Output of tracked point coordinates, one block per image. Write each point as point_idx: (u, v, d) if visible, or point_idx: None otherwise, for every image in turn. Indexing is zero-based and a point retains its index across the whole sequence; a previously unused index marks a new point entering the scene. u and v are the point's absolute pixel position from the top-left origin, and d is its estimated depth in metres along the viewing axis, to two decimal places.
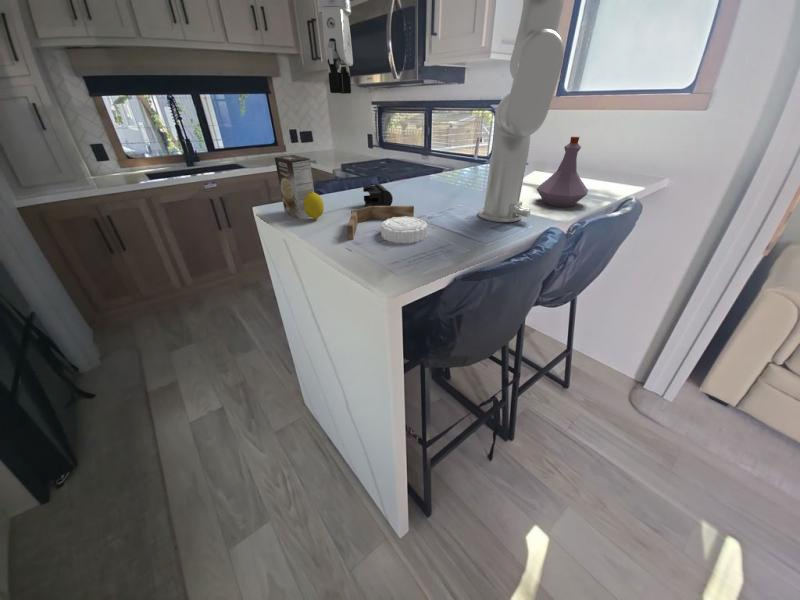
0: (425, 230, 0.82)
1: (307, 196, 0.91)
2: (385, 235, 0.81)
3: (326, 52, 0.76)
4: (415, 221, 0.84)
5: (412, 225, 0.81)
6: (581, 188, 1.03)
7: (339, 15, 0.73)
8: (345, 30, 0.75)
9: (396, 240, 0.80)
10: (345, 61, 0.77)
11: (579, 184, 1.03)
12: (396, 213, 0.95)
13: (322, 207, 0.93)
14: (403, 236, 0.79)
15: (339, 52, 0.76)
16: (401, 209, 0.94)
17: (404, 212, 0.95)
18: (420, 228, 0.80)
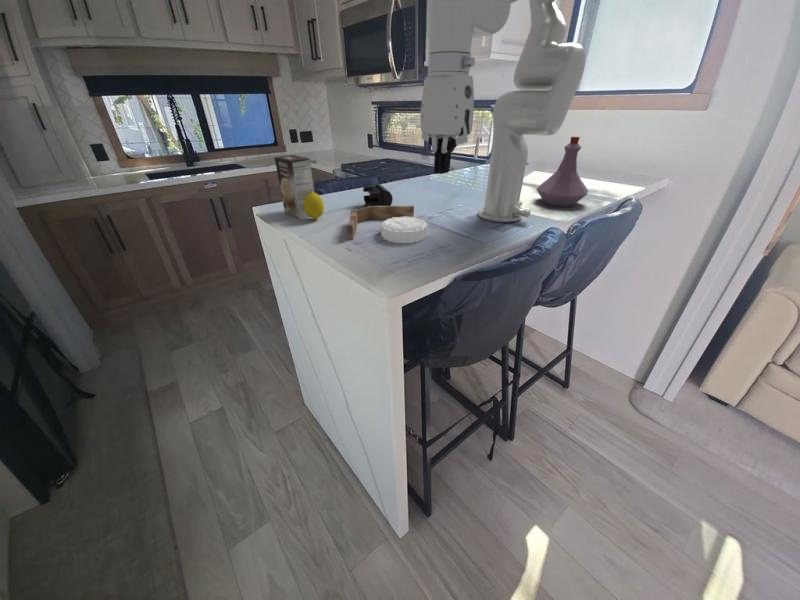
0: (425, 230, 0.82)
1: (307, 196, 0.91)
2: (385, 235, 0.81)
3: (460, 125, 0.61)
4: (415, 221, 0.84)
5: (412, 225, 0.81)
6: (581, 188, 1.03)
7: None
8: None
9: (396, 240, 0.80)
10: None
11: (579, 184, 1.03)
12: (396, 213, 0.95)
13: (322, 207, 0.93)
14: (403, 236, 0.79)
15: None
16: (401, 209, 0.94)
17: (404, 212, 0.95)
18: (420, 228, 0.80)
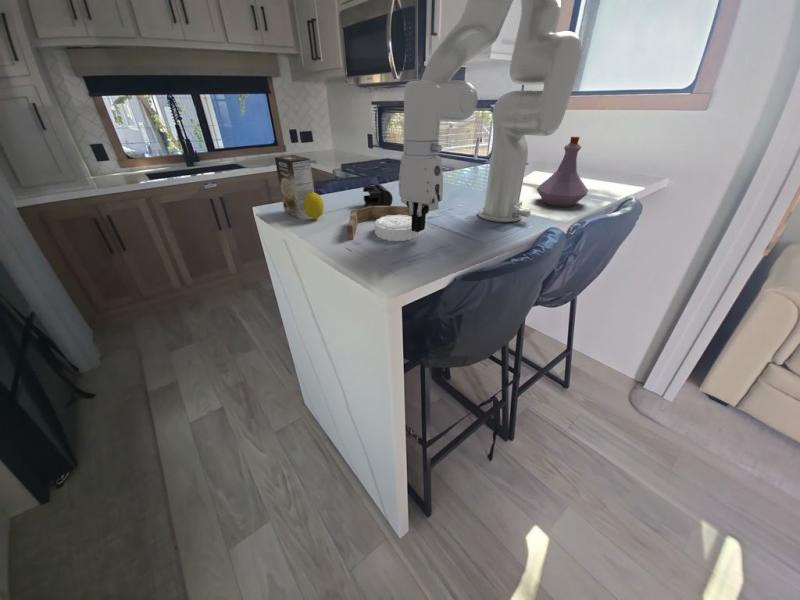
0: None
1: (307, 196, 0.91)
2: (379, 233, 0.83)
3: (431, 197, 0.72)
4: (408, 219, 0.85)
5: (405, 223, 0.83)
6: (581, 188, 1.03)
7: (441, 162, 0.71)
8: None
9: (390, 238, 0.81)
10: None
11: (579, 184, 1.03)
12: (396, 213, 0.95)
13: (322, 207, 0.93)
14: (396, 234, 0.80)
15: None
16: (401, 209, 0.94)
17: (404, 212, 0.95)
18: None
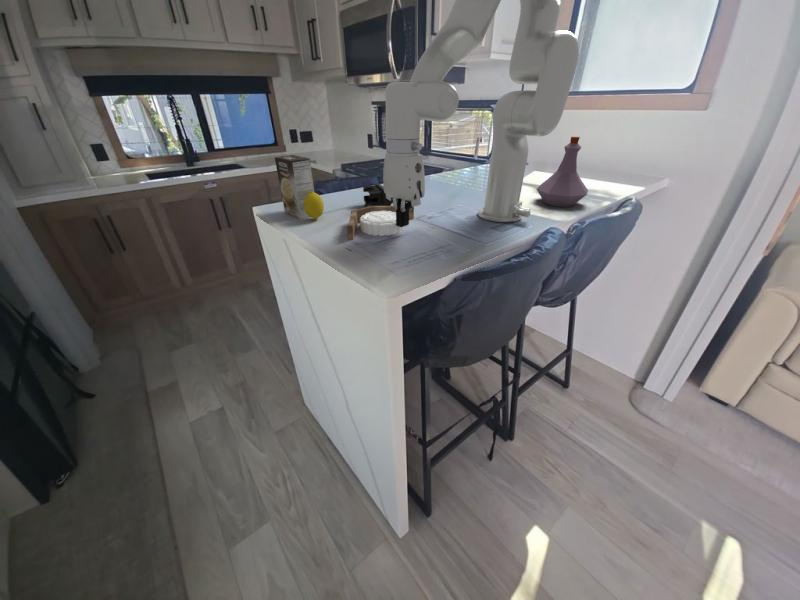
0: None
1: (307, 196, 0.91)
2: (364, 228, 0.85)
3: (413, 193, 0.75)
4: (392, 214, 0.88)
5: (389, 218, 0.86)
6: (581, 188, 1.03)
7: (422, 159, 0.74)
8: None
9: (375, 233, 0.84)
10: None
11: (579, 184, 1.03)
12: None
13: (322, 207, 0.93)
14: (381, 228, 0.83)
15: None
16: None
17: None
18: None
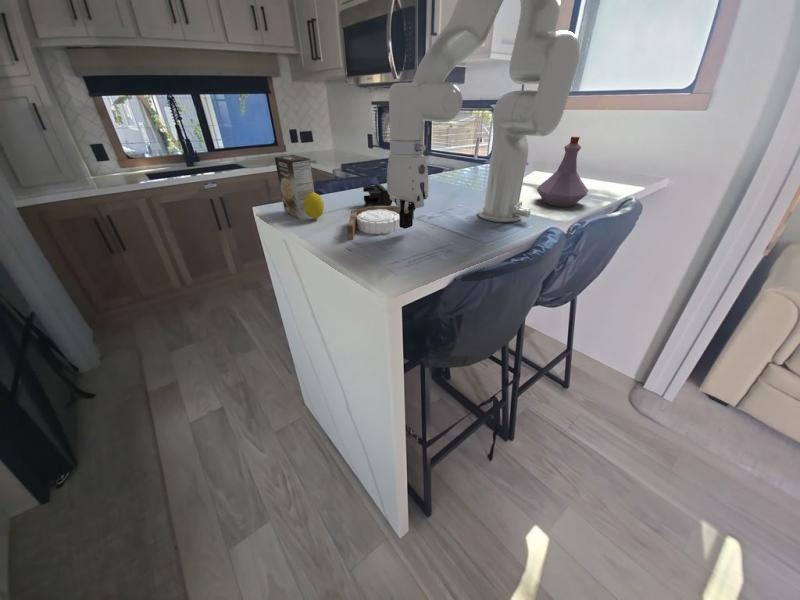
0: (398, 221, 0.88)
1: (307, 196, 0.91)
2: (361, 227, 0.87)
3: (416, 194, 0.75)
4: (388, 213, 0.90)
5: (386, 217, 0.87)
6: (581, 188, 1.03)
7: (426, 161, 0.74)
8: None
9: (372, 231, 0.85)
10: None
11: (579, 184, 1.03)
12: None
13: (322, 207, 0.93)
14: (378, 227, 0.84)
15: None
16: None
17: None
18: (393, 219, 0.86)
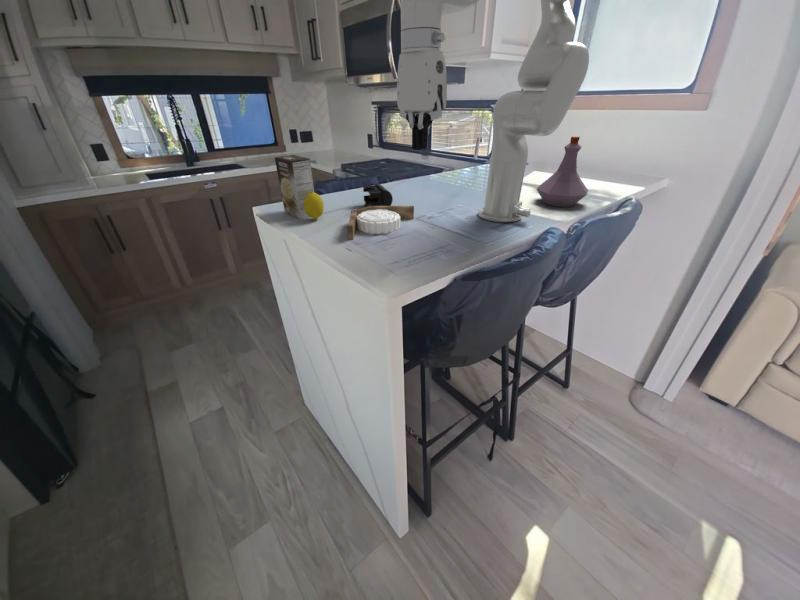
0: (398, 221, 0.88)
1: (307, 196, 0.91)
2: (361, 227, 0.87)
3: (434, 100, 0.63)
4: (388, 213, 0.90)
5: (386, 217, 0.87)
6: (581, 188, 1.03)
7: (444, 58, 0.62)
8: None
9: (372, 231, 0.85)
10: None
11: (579, 184, 1.03)
12: None
13: (322, 207, 0.93)
14: (378, 227, 0.84)
15: None
16: (401, 209, 0.94)
17: (404, 212, 0.95)
18: (393, 219, 0.86)
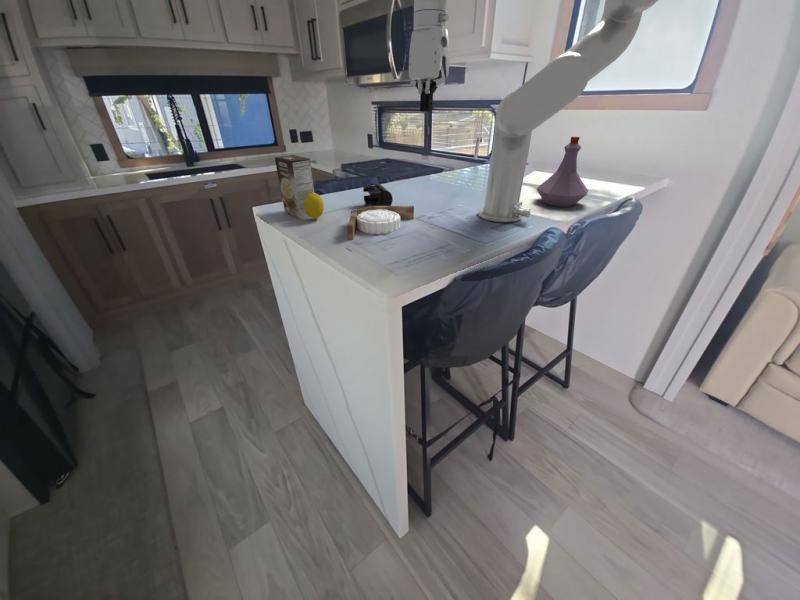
0: (398, 221, 0.88)
1: (307, 196, 0.91)
2: (361, 227, 0.87)
3: (439, 68, 0.79)
4: (388, 213, 0.90)
5: (386, 217, 0.87)
6: (581, 188, 1.03)
7: None
8: None
9: (372, 231, 0.85)
10: None
11: (579, 184, 1.03)
12: None
13: (322, 207, 0.93)
14: (378, 227, 0.84)
15: None
16: (401, 209, 0.94)
17: (404, 212, 0.95)
18: (393, 219, 0.86)
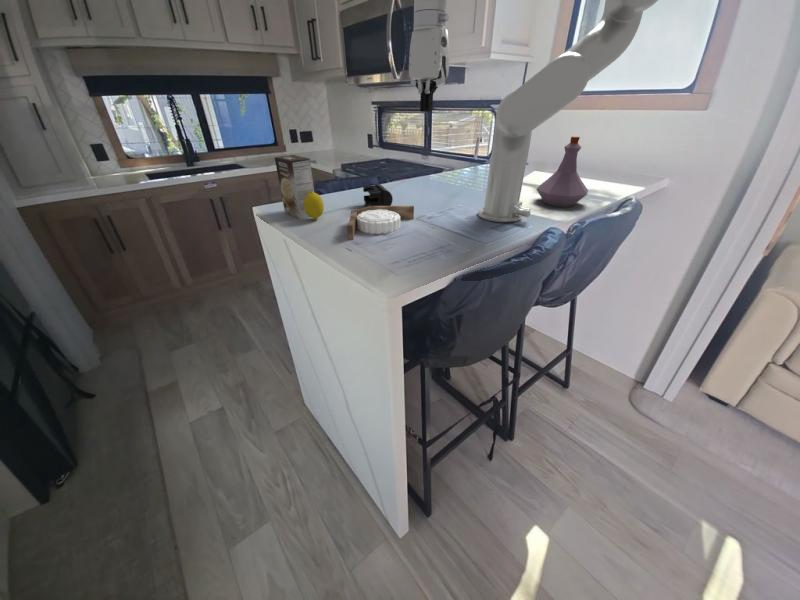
0: (398, 221, 0.88)
1: (307, 196, 0.91)
2: (361, 227, 0.87)
3: (439, 68, 0.79)
4: (388, 213, 0.90)
5: (386, 217, 0.87)
6: (581, 188, 1.03)
7: None
8: None
9: (372, 231, 0.85)
10: None
11: (579, 184, 1.03)
12: None
13: (322, 207, 0.93)
14: (378, 227, 0.84)
15: None
16: (401, 209, 0.94)
17: (404, 212, 0.95)
18: (393, 219, 0.86)
